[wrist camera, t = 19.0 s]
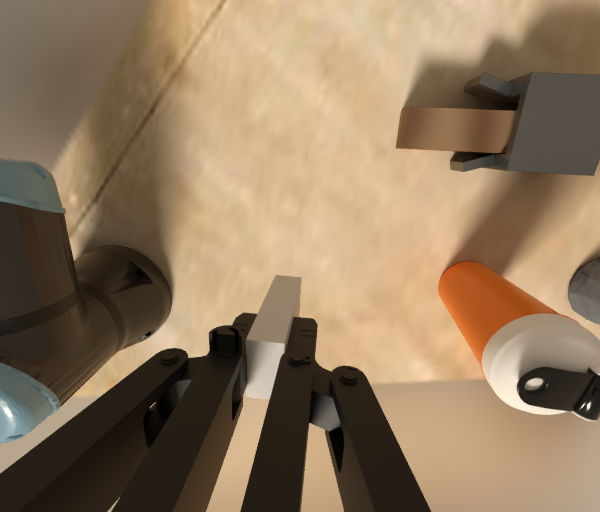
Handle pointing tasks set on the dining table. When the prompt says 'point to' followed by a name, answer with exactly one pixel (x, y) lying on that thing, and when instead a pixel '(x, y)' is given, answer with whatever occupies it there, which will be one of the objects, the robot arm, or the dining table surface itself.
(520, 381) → the shaker bottle
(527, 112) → the end cap
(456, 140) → the brown wooden block
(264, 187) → the dining table surface
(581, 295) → the moka pot
